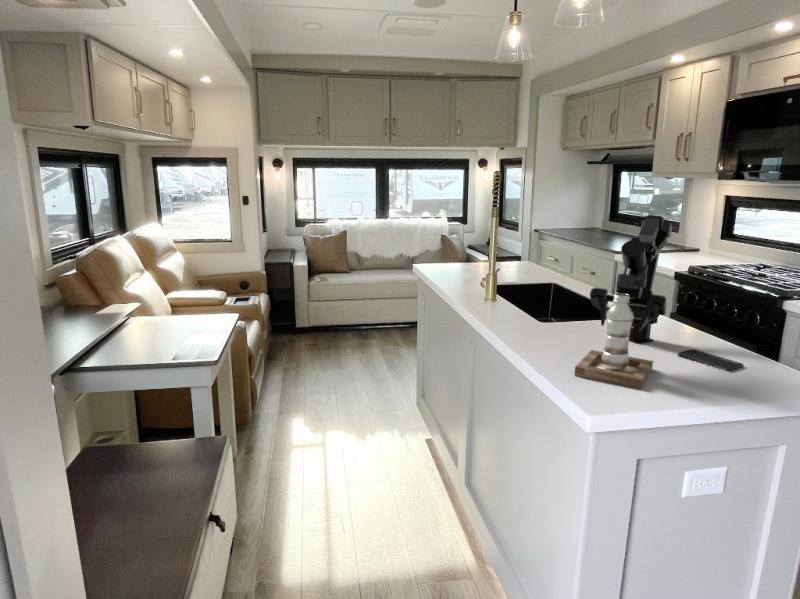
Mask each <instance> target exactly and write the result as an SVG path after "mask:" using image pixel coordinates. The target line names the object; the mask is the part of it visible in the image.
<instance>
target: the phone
mask: <svg viewBox="0 0 800 599" xmlns="http://www.w3.org/2000/svg"><path fill="white" fill-rule="evenodd" d="M677 357H679V358H682V359H685V358H686V359H685V360H688V359H689V361H691V360H692V362H694V361H696V362H695V363H697V362H699V363H698V364H700V363H702V364H701V365H703V364H706V365H705V366H707V365H708V366H707V367H710V366H712V367H711V368H713V367H715V368H714V369H716V368H718V369H717V370H719V369H722V370H725V371H724V372H726V371H732V372H734V371H733V370H735V369H738V370H740V369H739V368H741V369H743V368H744V363H742V362H738V361H735V360H731V359H728V358H726V357H725V358H724V357H722V356H718V355H714V354H712V353H707V352H704V351H700V350H697V349H695V348H692V349H687V350H683V351H678V352H677ZM742 367H743V368H742ZM722 370H721V371H722ZM735 371H736V370H735Z"/></svg>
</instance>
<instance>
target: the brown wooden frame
mask: <svg viewBox="0 0 800 599" xmlns="http://www.w3.org/2000/svg"><path fill="white" fill-rule="evenodd" d="M602 354H603V351H599V350H595V349H591V350H590V351H589V352H588V353H587V354H586V355H585V356H584V357H583V358H582V359H581V361H579V363H578V364H577V365H575V367H574V377H579V378H584V379H588V380H594V381H599V382H603V383H608V384H613V385H618V386H623V387H627V388H632V389H635V390H636V389H638V390H642V388H643V386H644V384H645V382H646V381H647V379H648V378H649V376H650V374H651V373H652V371H653V365H654V360H650V359H644V358H638V357H632V356H629V363H628V366H627V368H626V369H624V370H611V369H607V368H605V367H604V366H603V364H602Z"/></svg>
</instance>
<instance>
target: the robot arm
mask: <svg viewBox="0 0 800 599" xmlns="http://www.w3.org/2000/svg"><path fill="white" fill-rule="evenodd" d="M672 227H673V226H672V222H671V221H668V220H667V219H665V218H664V216H661V215H653V214H648V215H645V216H644V219H642V221H641V225H640V230H639V233H638V235H637V236H633V237H631V239H630V240H628V241H626V242H624V243H623V245H622V246H621V258H622V264H623V266H624V269H623V273H618V274H617V278H616V283H615V286H616V289H615V290H616V291H615V292H616V293H622V294H628V295H629V296H630V297H629V300H630V302H629V303H628V305H629V307H630V308H631V310H632V311H633V314H634V319H633V323H632V326H631V330H630V335H629V341H630V342H633V343H635V344H643V343H649V342H654V339H653V338H651V330H652V329H651V328H652V325H654V324H658V319H659V316H665V315H666V312H667V307H668V306H667V303H668V302H667V298H666V296H665V295H660V294H653V293H652V292H653V285H654V281H655V278H656V277H655V276H656V272H657V267H658V262H659V257H660V252H661V250H662V249H663V248H664V247H665V246H667V244H668V241H669V238H671V235H672V232H673V231H672V230H673V228H672ZM589 297H590V301H591V305H592V306H593V307H595V308H596V309H597V310H599V312H600V314H599V315H600V321H601V322H600V323H601V327H604V324H605V322H606V313H607V311H608V307H607V306H608V304H609V303H614V302H613V299H614V294H611V293H610V294H609V292H608V289H607V288H601V287H593V288H592V289H591V290H590V292H589Z"/></svg>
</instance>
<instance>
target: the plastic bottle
mask: <svg viewBox="0 0 800 599" xmlns="http://www.w3.org/2000/svg"><path fill="white" fill-rule="evenodd" d="M613 295H614V299H613V302H612V303H613V304H612V305H611V306H610V307H609V308H608V309H607V313H606V318H605V320H606V339H605V343H604V348H603V351H602V352H603V354H602V364H603V366H604V367H605V368H607V369H611V370H624V369H626V368H627V366H628V363H629V357H630V355H629V343H630V342H629V341H630V340H629V335H630V330H631V326H632V323H633V319H634V314H633V311H632V310H631V308H630V307H629V305H628V303H629V302H630V300H629V297H630V296H629V295H628V294H622V293H618V292H616V293H613Z"/></svg>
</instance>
